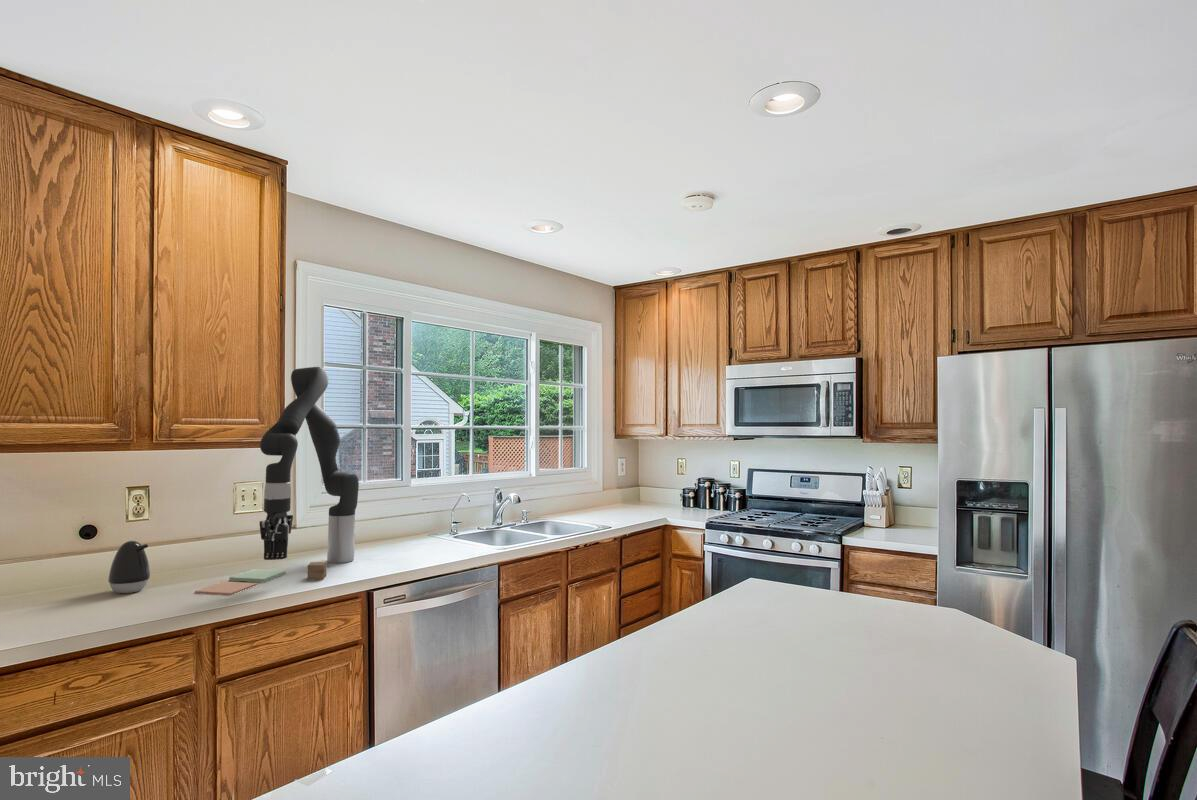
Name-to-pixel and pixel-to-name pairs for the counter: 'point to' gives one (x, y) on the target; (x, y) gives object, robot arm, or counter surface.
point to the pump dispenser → (129, 568)
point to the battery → (278, 544)
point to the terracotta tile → (226, 588)
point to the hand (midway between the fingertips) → (275, 550)
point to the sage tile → (257, 575)
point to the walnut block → (316, 570)
